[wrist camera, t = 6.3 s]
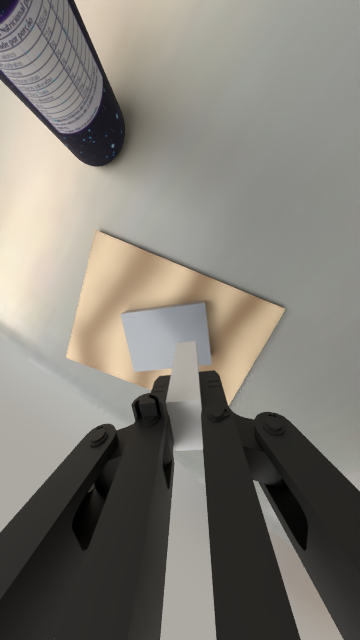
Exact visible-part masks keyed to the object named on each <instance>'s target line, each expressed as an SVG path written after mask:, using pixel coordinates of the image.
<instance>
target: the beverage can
mask: <svg viewBox="0 0 360 640" xmlns="http://www.w3.org/2000/svg"><path fill="white" fill-rule="evenodd" d="M0 79H1V80H2V82H3V83H4V84H5V85H6V86H7V87H8V88H9V89H10V90H11V91H12V92H13V93H14V94H15V95H16V96H17V97H18V98H19V99H20V100H21V101H22V102H23V103H24V104H25V105H26V106H27V107H28V108H29V109H30V110H31V111H32V112H33V113H34V114H35V115H36V116H37V117H38V118H39V119H40V120H41V121H42V122H43V123H44V124H45V125H46V126H47V127H48V128H49V130H50V131H51V132H52V133H53V134H54V135H55V136H56V137H57V138H58V139H59V140H60V141H61V142H62V143H63V144H64V145H65V146H66V147H67V148H68V149H69V150H70V151H71V152H72V153H73V154H74V155H75V156H76V157H77V158H78V159H79V160H80V161H82V162H83V163H85V164H88V165H91V166H103V165H106V164H108V163H110V162H111V161H112V160H114V159H115V158H116V156H117V155H118V154H119V152H120V150H121V148H122V145H123V142H124V136H125V124H124V118H123V115H122V112H121V109H120V107H119V104H118V102H117V100H116V97H115V95H114V93H113V90H112V88H111V86H110V83H109V81H108V79H107V76H106V74H105V72H104V69H103V67H102V65H101V62H100V60H99V58H98V55H97V53H96V51H95V48H94V46H93V44H92V41H91V39H90V37H89V34H88V32H87V30H86V27H85V25H84V23H83V20H82V18H81V16H80V13H79V11H78V9H77V6H76V4H75V2H74V0H0Z"/></svg>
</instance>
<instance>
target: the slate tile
mask: <svg viewBox="0 0 360 640" xmlns="http://www.w3.org/2000/svg"><path fill="white" fill-rule="evenodd" d="M120 315H121V319H122V323H123V327H124V332H125V336H126V340H127V344H128V348H129V353H130V357H131V361H132V365H133V369H134V372H140V371H150V370H160V369H171V368H172V367H173V362H174V357H175V351H176V346H177V343H181V342H190V341H196V347H197V355H198V363H199V366H202V365H212V363H211V353H210V344H209V335H208V326H207V316H206V307H205V302H204V300H202V301H195V302H187V303H180V304H172V305H164V306H157V307H149V308H142V309H134V310H127V311H125V312H123V313H121V314H120Z"/></svg>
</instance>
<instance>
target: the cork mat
mask: <svg viewBox="0 0 360 640" xmlns="http://www.w3.org/2000/svg"><path fill="white" fill-rule="evenodd" d="M202 300H204V302H205V307H206V316H207V326H208V335H209V344H210V353H211V363H212V365H202V366H199V371H200V372H201V371H211V370H215V371H216V372H217V373H218V374H219V375H220V379H221V382H222V386H223V389H224V393H225V396H226V400H227V403H228V406H229V404H230V403H231V401H232V399H233V398H234V396H235V394H236V392H237V391H238V389H239V387H240V386H241V384H242V382H243V381H244V379H245V377H246V375H247V374H248V372H249V370H250V369H251V367H252V365H253V364H254V362H255V360H256V359H257V357H258V355H259V353H260V352H261V350H262V348H263V347H264V345H265V343H266V342H267V340H268V338H269V336H270V335H271V333H272V331H273V330H274V328H275V326H276V325H277V323H278V321H279V320H280V318H281V316H282V314H283V313H284V311H285V309H284V308H282V307H279V306H277V305H274V304H272V303H270V302H267V301H265V300H262V299H260V298H258V297H255V296H253V295H250V294H248V293H246V292H243V291H241V290H238V289H236V288H234V287H231V286H229V285H226V284H224V283H222V282H219V281H217V280H214V279H212V278H210V277H207V276H205V275H202V274H200V273H198V272H195V271H193V270H190V269H188V268H186V267H183V266H181V265H178V264H176V263H174V262H171V261H169V260H166V259H164V258H162V257H159V256H157V255H154V254H152V253H150V252H147V251H145V250H142V249H140V248H138V247H135V246H133V245H130V244H128V243H126V242H123V241H121V240H118V239H116V238H114V237H111V236H109V235H106V234H104V233H102V232H99V231H97V230H95V235H94V239H93V243H92V248H91V252H90V256H89V261H88V265H87V269H86V274H85V278H84V282H83V286H82V291H81V295H80V299H79V304H78V308H77V312H76V317H75V321H74V325H73V330H72V334H71V338H70V343H69V347H68V351H67V356H66V358H69V359H71V360H74V361H77V362H79V363H82V364H84V365H87V366H90V367H92V368H95V369H98V370H100V371H103V372H105V373H108V374H111V375H113V376H116V377H118V378H121V379H124V380H126V381H129V382H132V383H134V384H137V385H139V386H142V387H145V388H147V389H150V390H152V388H153V384H154V381H155V380H156V379H157V378H158V377H159V376H164V375H171V372H172V368H171V369H160V370H150V371H140V372H134V369H133V365H132V361H131V357H130V353H129V348H128V344H127V340H126V336H125V332H124V327H123V323H122V319H121V315H120V314H121V313H123V312H125V311H127V310H134V309H142V308H149V307H157V306H164V305H172V304H180V303H187V302H195V301H202Z"/></svg>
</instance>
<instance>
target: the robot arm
mask: <svg viewBox="0 0 360 640" xmlns="http://www.w3.org/2000/svg"><path fill="white" fill-rule="evenodd" d="M132 409H133V413H134V417H135V423H134V424H132V425H130V426H128V427H125V428H122V429H119V430H116V429H115V427H114V426H113V425H111V424H103V425H100V426H97V427H96V428H94V429H92V430H91V431H90V432H89V433H88V434H87V435H86V436H85V437H84V438H83V439H82V440H81V441H80V443H79V444H78V445H77V446H76V447H75V448H74V449H73V451H72V452H71V453H70V454H69V455H68V456H67V457H66V459H65V460H64V461H63V462H62V463H61V464H60V465H59V466H58V468H57V469H56V470H55V471H54V472H53V473H52V474H51V476H50V477H49V478H48V479H47V480H46V481H45V482H44V484H43V485H42V486H41V487H40V488H39V489H38V490H37V492H36V493H35V494H34V495H33V496H32V497H31V498H30V499H29V501H28V502H27V503H26V504H25V505H24V506H23V507H22V509H21V510H20V511H19V512H18V513H17V514H16V515H15V516H14V518H13V519H12V520H11V521H10V522H9V523H8V525H7V526H6V527H5V528H4V529H3V530H2V531H1V532H0V640H160V633H161V620H162V609H163V597H164V584H165V572H166V559H167V548H168V535H169V522H170V509H171V498H172V486H173V473H174V457H173V446H174V448H175V451H182V450H202V449H203V454H204V468H205V482H206V496H207V511H208V524H209V539H210V553H211V566H212V580H213V595H214V610H215V624H216V637H217V640H301V639H300V636H299V633H298V629H297V627H296V623H295V620H294V616H293V613H292V610H291V606H290V603H289V600H288V596H287V593H286V590H285V586H284V583H283V580H282V576H281V573H280V570H279V567H278V563H277V560H276V557H275V553H274V550H273V546H272V543H271V540H270V536H269V533H268V530H267V526H266V523H265V520H264V516H263V513H262V510H261V506H260V503H259V500H258V496H257V493H256V490H255V486H254V483H253V480H255V481H258V482H259V484H260V486H261V488H262V490H263V491H264V493H265V495H266V497H267V499H268V501H269V503H270V504H271V506H272V508H273V510H274V512H275V514H276V515H277V517H278V519H279V521H280V523H281V525H282V527H283V528H284V530H285V532H286V534H287V536H288V538H289V539H290V541H291V543H292V545H293V547H294V549H295V550H296V552H297V554H298V556H299V558H300V559H301V562H302V563H303V565H304V567H305V569H306V571H307V573H308V574H309V576H310V578H311V580H312V582H313V584H314V586H315V587H316V589H317V591H318V593H319V595H320V597H321V598H322V600H323V602H324V604H325V606H326V608H327V610H328V611H329V613H330V615H331V617H332V619H333V620H334V622H335V624H336V626H337V628H338V630H339V632H340V633H341V635H342V637H343V639H344V640H360V491H359V490H358V489H357V488H356V487H355V486H354V485H353V484H352V483H351V482H350V481H349V480H348V479H347V478H346V477H345V476H344V475H343V474H342V473H341V472H340V471H339V470H338V469H337V468H336V467H335V466H334V465H333V464H332V463H331V462H330V461H329V460H328V459H327V458H326V457H325V456H324V455H323V454H322V453H321V452H320V451H319V450H318V449H317V448H316V447H315V446H314V445H313V444H312V443H311V442H310V441H309V440H308V439H307V438H306V437H305V436H304V435H303V434H302V433H301V432H300V431H299V430H298V429H297V428H296V427H295V426H294V425H293V424H292V423H291V422H290V421H289V420H287V419H286V418H285V417H283V416H281V415H279V414H277V413H272V412H262V413H260V414H258V415H257V416H256V418H255V419H254V420H253V419H248V418H244V417H241V416H239V415H237V414H235V413H234V412H232V411H231V409H230V408H229V406H228V403H227V400H226V396H225V393H224V389H223V386H222V382H221V379H220V375H219V374H218V373H217V372H216V371H215V370H211V371H201V372H200V371H199V363H198V355H197V347H196V341H190V342H181V343H177V346H176V351H175V357H174V362H173V367H172V372H171V375H164V376H159V377H158V378H157V379H156V380H155V381H154V384H153V388H152V390H151V393H147V394H144V395H142V396H139V397H138V398H137V399H135V400H134V402H133V403H132ZM54 638H55V639H54Z"/></svg>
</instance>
